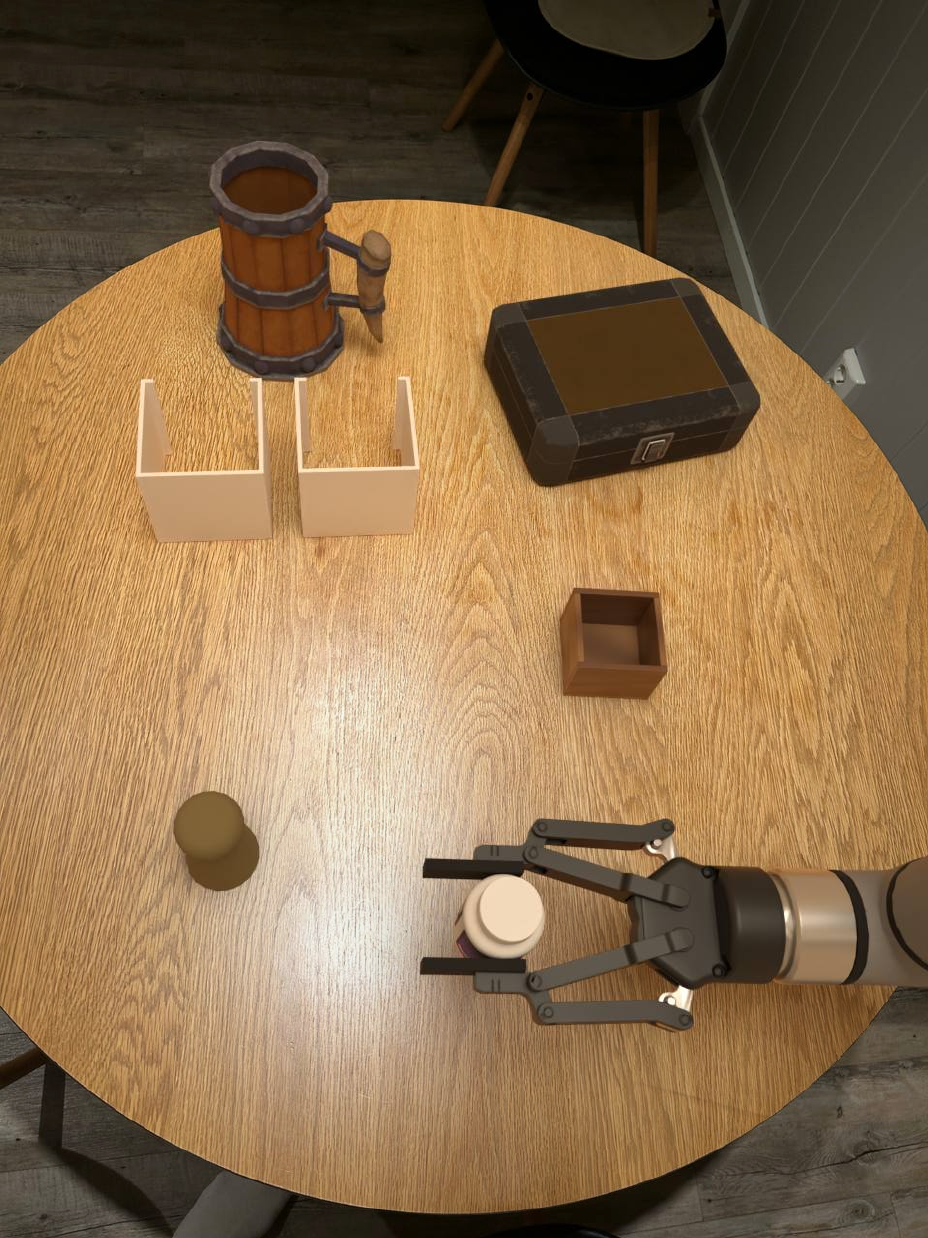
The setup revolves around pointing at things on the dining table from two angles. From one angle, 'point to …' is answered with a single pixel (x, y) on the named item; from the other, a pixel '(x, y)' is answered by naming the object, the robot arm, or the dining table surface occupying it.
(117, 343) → the dining table surface
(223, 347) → the mug
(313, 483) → the beige u-shaped pieces
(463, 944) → the pill bottle
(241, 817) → the cork
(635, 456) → the cash box
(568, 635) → the wooden box
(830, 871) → the robot arm
